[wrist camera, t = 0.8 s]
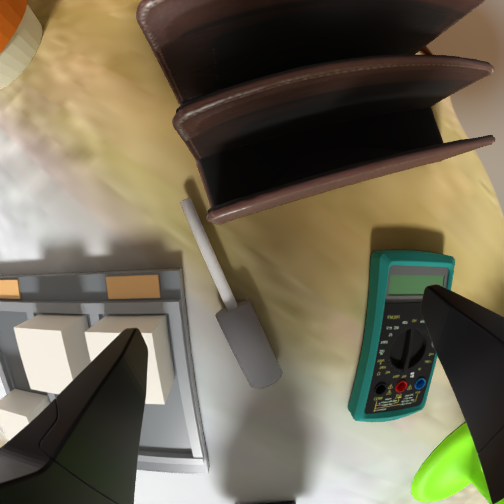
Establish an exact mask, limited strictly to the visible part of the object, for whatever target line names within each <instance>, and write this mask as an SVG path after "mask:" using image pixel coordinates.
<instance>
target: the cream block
mask: <svg viewBox="0 0 504 504" xmlns="http://www.w3.org/2000/svg"><path fill="white" fill-rule="evenodd" d="M88 329H89V326H88V321H87V315H86V314H52V313H41V314H39V315H37V316H35V317H33V318H31V319H29V320H27V321H25V322H23V323H21V324H19V325H17V326H15V327H14V331H15V336H16V340H17V344H18V348H19V352H20V355H21V359H22V362H23V366H24V369H25V372H26V376H27V379H28V382H29V385H30V388H31V389H33V390H38V391H43V392H48V393H54V394H60V393H61V392H62V391H63V390H64V389H65V388H66V387H67V386H68V385H69V384H70V383H71V382H72V381H73V380H74V379H75V378H76V377H77V376H78V374H79V373H81V372H82V371H83V370H84V369H85V368H86V367H87V366H88V365H89V364H90V363H91V360H90V356H89V351H88V347H87V342H86V337H85V331H86V330H88Z"/></svg>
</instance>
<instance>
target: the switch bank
mask: <svg viewBox="0 0 504 504" xmlns="http://www.w3.org/2000/svg"><path fill="white" fill-rule="evenodd" d="M41 313H52V314H86V315H87V321H88V326H89V328H90V327H92V326H93V325H94V324H96V323H97V322H98V321H100V320H101V319H102V318H104V317H105V316H106V315H108V314H167V323H168V330H169V338H170V345H171V352H172V358H173V365H174V371H175V379H174V382H173V384H172V387H171V389H170V392H169V395H168V397H167V400H166V403H165V405H164V404H145V407H144V414H143V421H142V428H141V436H140V444H139V452H138V461H137V469H138V470H147V471H157V472H170V473H190V474H209V461H208V455H207V450H206V445H205V440H204V434H203V428H202V423H201V417H200V411H199V404H198V398H197V391H196V385H195V378H194V371H193V363H192V356H191V348H190V340H189V332H188V323H187V314H186V304H185V294H184V283H183V271H182V268H171V269H151V270H131V271H109V272H86V273H62V274H36V275H8V276H0V377H1V380H2V383H3V385H4V388H5V391H6V394H8V393H9V392H11V391H12V390H13V389H18V390H23V391H27V392H32V393H37V394H42V395H47V396H48V398H49V401H50V403H51V402H52V401H53V400H54V399H56V397H57V396H58V395H59V394H54V393H48V392H43V391H38V390H33V389H31V388H30V385H29V382H28V379H27V376H26V372H25V369H24V366H23V362H22V359H21V355H20V352H19V348H18V344H17V340H16V336H15V331H14V327H15V326H17V325H19V324H21V323H23V322H25V321H27V320H29V319H31V318H33V317H35V316H37V315H39V314H41Z"/></svg>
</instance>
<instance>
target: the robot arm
mask: <svg viewBox="0 0 504 504" xmlns="http://www.w3.org/2000/svg"><path fill="white" fill-rule="evenodd" d="M420 309H421V314H422V317H423V319H424V322H425V324H426V327H427V330H428V332H429V335H430V338H431V341H432V343H433V346H434V349H435V351H436V353H437V356H438V358H439V360H440V362H441V364H442V366H443V369H444V371H445V373H446V375H447V377H448V380H449V382H450V384H451V386H452V389H453V391H454V393H455V396H456V398H457V401H458V403H459V405H460V408H461V410H462V413H463V416H464V418H465V421H466V423H467V426H468V429H469V431H470V434H471V437H472V440H473V442H474V445H475V448H476V451H477V453H478V457H479V461H480V464H481V467H482V470H483V473H484V477H485V480H486V483H487V487H488V490H489V494H490V498H491V501H492V504H495V503H497V502H499V501H500V500H502V499H504V317H502V316H500V315H498V314H496V313H494V312H492V311H490V310H488V309H486V308H485V307H483V306H481V305H479V304H477V303H475V302H473V301H471V300H469V299H467V298H465V297H463V296H461V295H459V294H457V293H454V292H452V291H450V290H448V289H446V288H444V287H442V286H440V285H438V284H434V285H429V286H427V287H426V288H425V290H424V294H423V298H422V302H421V308H420ZM147 368H148V347H147V345H146V343H145V340H144V338H143V336H142V334H141V332H140V330H139V329H138V328H126V329H124V330H123V331H122V332H121V333H120V334H119V335H118V336H117V337H116V338H115V339H114V340H113V341H112V342H111V343H110V344H109V345H108V346H107V347H106V348H105V349H104V350H103V351H102V352H101V353H100V354H99V355H98V356H97V357H96V358H95V359H94V360H93V361H92V362H91V363H90V364H89V365H88V366H87V367H86V368H85V369H84V370H83V371H82V372H81V373H79V374H78V376H77V377H76V378H75V379H74V380H73V381H72V382H71V383H70V384H69V385H68V386H67V387H66V388H65V389H64V390H63V391H62V392H61V393H60V394H59V395H58V396H57V397H56V399H54V400H53V401H52V402H51V403H50V404H49V405H48V406H47V407H46V408H45V409H44V410H43V411H42V412H41V413H40V414H39V415H38V416H37V417H35V418H34V419H33V420H32V421H31V422H30V423H29V424H28V425H27V426H25V427H24V428H23V429H22V430H21V431H20V432H19V433H17V434H16V435H15V436H14V437H13V438H12V439H11V440H9V441H8V442H7V443H6V444H5V445H4V446H2V447H1V448H0V504H134V492H135V481H136V471H137V461H138V452H139V444H140V436H141V428H142V421H143V414H144V407H145V400H146V389H147ZM267 504H296V503H295V501H287V502H278V503H267Z"/></svg>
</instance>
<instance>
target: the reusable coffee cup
mask: <svg viewBox="0 0 504 504" xmlns="http://www.w3.org/2000/svg"><path fill="white" fill-rule="evenodd" d="M42 33H43V31H42V26H41V24H40V22H39V21H38V19H37V18H36V16H35V15H34V13H33V12H32V10H31V9H30V7H29V6H28V4H27V0H0V89H3V88H4V87H6V86H8V85H9V84H10V83H11V82H13V81H14V80H15V79H16V78H17V77H18V76H19V75H20V74H21V73H22V72H23V71H24V69H25V68H26V67H27V66H28V64H29V63H30V61H31V60H32V58H33V57H34V55H35V53H36V51H37V49H38V47H39V45H40V42H41V39H42Z"/></svg>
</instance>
